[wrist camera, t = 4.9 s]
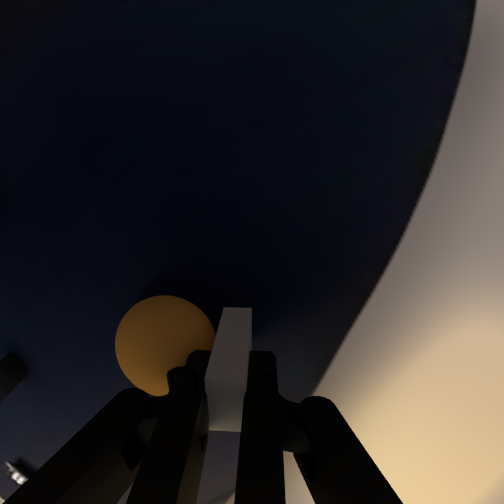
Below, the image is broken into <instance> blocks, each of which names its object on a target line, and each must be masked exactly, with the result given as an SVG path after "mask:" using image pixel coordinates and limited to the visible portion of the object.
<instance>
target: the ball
mask: <svg viewBox="0 0 504 504" xmlns="http://www.w3.org/2000/svg"><path fill="white" fill-rule="evenodd" d="M215 338H216V333H215V331H214V328H213V326H212V324H211V322H210V320H209V319H208V317H207V316H206V315H205V314H204V313H203V312H202V310H200V309H199V308H198V307H197V306H195V305H194V304H192V303H191V302H189V301H187V300H185V299H182V298H179V297H175V296H169V295H161V296H153V297H150V298H147V299H145V300H142V301H140V302H139V303H137V304H135V305H134V306H133V307H132V308H131V309H130V310H128V312H127V313H126V314H125V316H124V317H123V318H122V320H121V322H120V324H119V327H118V330H117V334H116V339H115V349H116V356H117V359H118V362H119V365H120V367H121V369H122V371H123V372H124V374H125V375H126V377H127V378H128V379H129V380H130V381H131V382H132V383H133V384H134V385H135V386H137V387H138V388H139V389H142V390H144V391H145V392H146V393H149V394H152V395H155V396H163V395H166V394H168V392H169V388H168V382H167V376H166V374H167V372H168V371H169V370H171V369H173V368H175V367H178V366H185V363H186V361H187V358H188V356H189V354H190V353H192V352H193V351H194V350H195V349H197V350H212V349H213V345H214V342H215Z"/></svg>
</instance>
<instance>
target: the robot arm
mask: <svg viewBox="0 0 504 504" xmlns="http://www.w3.org/2000/svg"><path fill="white" fill-rule="evenodd" d="M251 343H252V308H232V307H224V309H223V312H222V316H221V320H220V323H219V327H218V331H217V334H216V338H215V342H214V345H213V349H212V350H197V349H195V350H194V351H193V352H192V353H190V354H189V356H188V358H187V361H186V363H185V366H178V367H175V368H173V369H171V370H169V371H168V372H167V374H166V376H167V382H168V388H169V392H168V394H166V395H163V396H157V397H149V396H148V394H147V393H146V392H145V391H144V390H142V389H138V388H128V389H125V390H122V391H121V392H119V393H118V394H117V395H116V396H115V397H114V398H113V399H112V400H111V401H110V402H109V403H108V404H107V405H106V406H104V407H103V408H102V409H101V410H100V411H99V412H98V413H97V414H96V415H95V416H94V417H93V418H92V419H91V420H90V421H89V422H88V423H87V424H86V425H85V426H84V427H83V428H82V429H81V430H79V431H78V432H77V433H76V434H75V435H74V436H73V437H72V438H71V439H70V440H69V441H68V442H67V443H66V444H65V445H64V446H63V447H62V448H61V449H60V450H59V451H58V452H56V453H55V454H54V455H53V456H52V457H51V458H50V459H49V460H48V461H47V462H46V463H45V464H44V465H43V466H42V467H41V468H40V469H39V470H38V471H36V472H35V473H34V474H33V475H32V476H31V477H30V478H29V479H28V480H27V481H26V482H25V483H24V484H23V485H22V486H21V487H20V488H18V489H17V490H16V491H15V492H14V493H13V494H12V495H11V496H10V497H9V498H8V499H7V500H6V501H5V502H4V503H3V504H117V502H118V501H119V500H120V498H121V497H122V496H123V495H124V493H125V492H126V491H127V489H128V488H129V487H130V485H131V484H132V483H133V481H134V483H133V486H132V488H131V491H130V494H129V496H128V499H127V502H126V504H196V500H197V495H198V489H199V484H200V479H201V473H202V468H203V463H204V458H205V452H206V447H207V442H208V434H207V429H208V424H209V430H216V431H234V432H241V435H240V446H239V457H238V469H237V480H236V491H235V502H234V504H286V501H285V481H284V462H283V450H284V451H288V452H293V455H294V458H295V460H296V462H297V465H298V467H299V469H300V471H301V474H302V476H303V478H304V480H305V482H306V485H307V487H308V489H309V491H310V493H311V495H312V498H313V500H314V502H315V504H403V503H402V501H401V500H400V499H399V497H398V496H397V494H396V493H395V491H394V490H393V489H392V487H391V486H390V484H389V483H388V481H387V480H386V479H385V477H384V476H383V474H382V473H381V471H380V470H379V468H378V467H377V466H376V464H375V463H374V461H373V460H372V458H371V457H370V455H369V454H368V453H367V451H366V450H365V448H364V447H363V445H362V444H361V442H360V441H359V439H358V438H357V437H356V435H355V434H354V432H353V431H352V429H351V428H350V427H349V425H348V423H347V422H346V420H345V419H344V418H343V416H342V415H341V413H340V412H339V410H338V409H337V407H336V406H335V404H334V403H333V402H332V401H331V400H330V399H327V398H325V397H321V396H311V397H308V398H305V399H304V400H302V401H301V402H300V403H295V402H291V401H288V400H286V399H284V398H283V397H282V396H281V395H280V394H279V392H278V383H277V367H276V357H275V356H274V354H273V353H272V352H271V351H251Z"/></svg>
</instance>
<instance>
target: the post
mask: <svg viewBox="0 0 504 504" xmlns="http://www.w3.org/2000/svg"><path fill="white" fill-rule="evenodd" d="M26 376H27V371H26V368H25V366H24V364H23V363H22V361H21V360H20V359H19V358H18V357H17V356H16V355H14V354H11V353H9V354H7V355H6V356H5V357H4V358H2V359H1V360H0V402H1V401H2V400H3V399H4V398H5V397H6V396H7V395H8V394H9V393H10V392H11V391H12V390H14V389H15V388H16V387H17V386H18V385H19V384H20V383H21V382H22V381H23V380H24V379H25V378H26Z"/></svg>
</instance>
